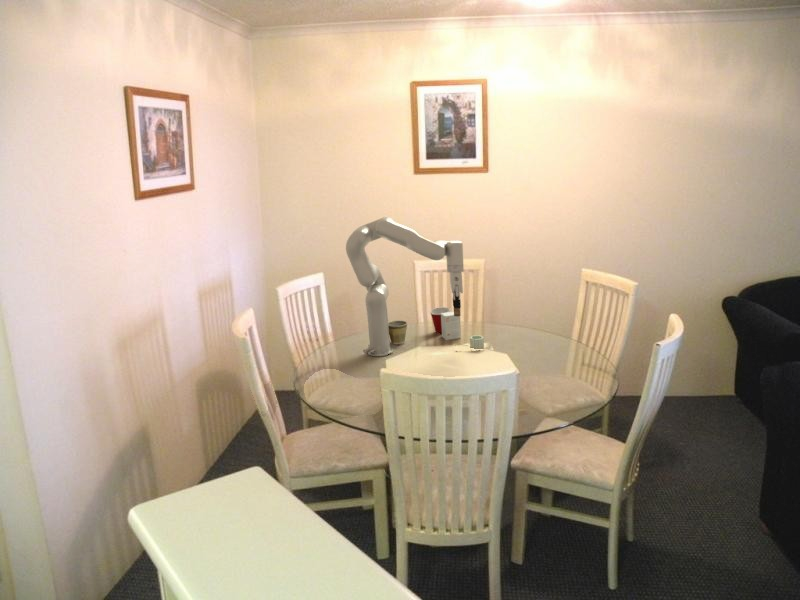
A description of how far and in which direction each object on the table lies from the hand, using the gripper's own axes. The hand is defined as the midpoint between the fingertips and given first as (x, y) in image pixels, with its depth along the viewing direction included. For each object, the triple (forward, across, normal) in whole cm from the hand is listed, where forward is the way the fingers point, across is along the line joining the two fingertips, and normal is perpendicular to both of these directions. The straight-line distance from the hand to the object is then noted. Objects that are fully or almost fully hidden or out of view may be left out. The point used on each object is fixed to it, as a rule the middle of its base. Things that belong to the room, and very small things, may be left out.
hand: (456, 306), depth 299 cm
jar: (+20, 0, -9) cm, 22 cm away
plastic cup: (+21, +30, +7) cm, 37 cm away
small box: (+21, +18, +2) cm, 28 cm away
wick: (+4, 0, 0) cm, 4 cm away
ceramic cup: (+21, +18, +28) cm, 40 cm away
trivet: (+21, +1, -7) cm, 22 cm away
